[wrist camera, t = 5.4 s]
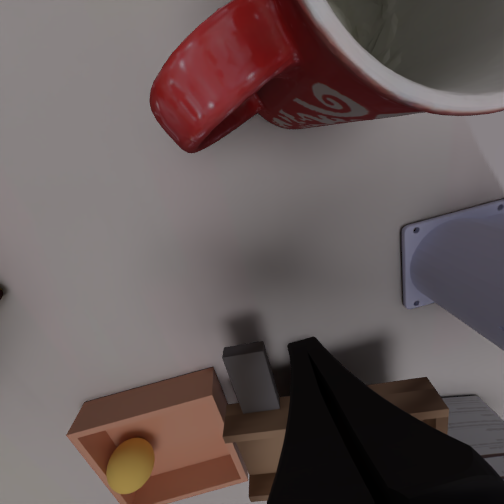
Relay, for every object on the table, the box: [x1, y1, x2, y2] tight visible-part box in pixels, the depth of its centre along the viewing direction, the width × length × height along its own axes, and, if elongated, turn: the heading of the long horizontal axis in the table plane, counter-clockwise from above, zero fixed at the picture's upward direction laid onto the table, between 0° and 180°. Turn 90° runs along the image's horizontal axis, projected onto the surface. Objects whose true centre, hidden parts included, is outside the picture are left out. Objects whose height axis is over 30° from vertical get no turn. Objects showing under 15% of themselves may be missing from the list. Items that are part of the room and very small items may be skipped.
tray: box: [66, 367, 248, 504], centre depth 25 cm, size 12×12×3 cm
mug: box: [150, 0, 504, 153], centre depth 10 cm, size 13×9×14 cm
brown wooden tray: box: [222, 341, 449, 502], centre depth 21 cm, size 16×16×3 cm
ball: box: [106, 438, 155, 494], centre depth 24 cm, size 4×4×4 cm
